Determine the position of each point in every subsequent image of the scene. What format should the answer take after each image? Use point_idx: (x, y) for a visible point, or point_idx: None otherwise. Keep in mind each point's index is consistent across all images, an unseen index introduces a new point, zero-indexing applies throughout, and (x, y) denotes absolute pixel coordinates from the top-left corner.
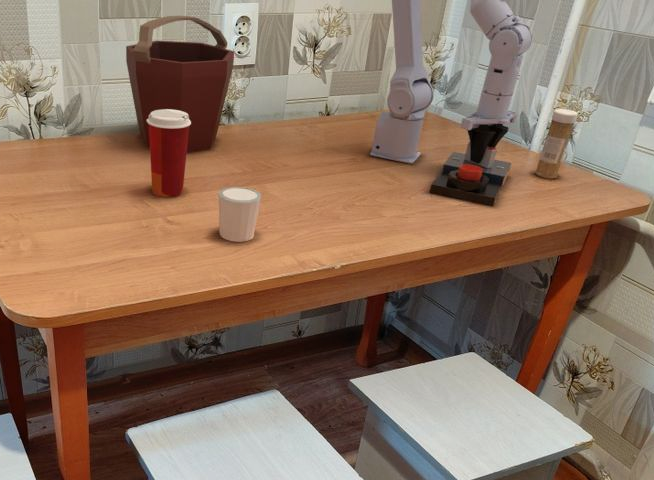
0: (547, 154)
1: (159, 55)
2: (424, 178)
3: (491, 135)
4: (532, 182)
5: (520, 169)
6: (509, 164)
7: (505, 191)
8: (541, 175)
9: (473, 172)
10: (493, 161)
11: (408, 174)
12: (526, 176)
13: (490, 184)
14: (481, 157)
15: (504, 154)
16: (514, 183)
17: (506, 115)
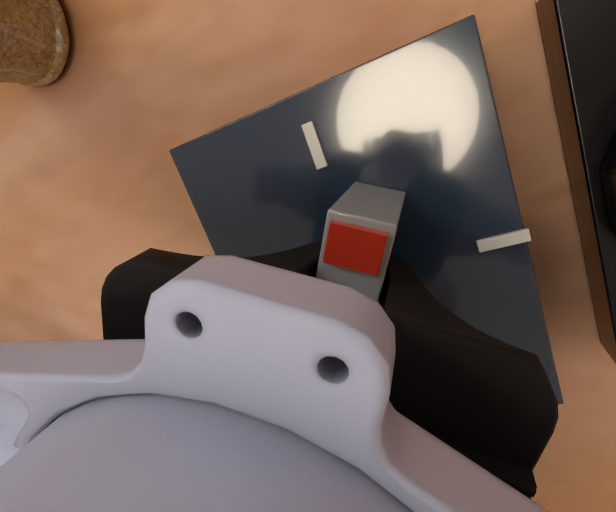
0: None
1: None
2: (606, 403)
3: (434, 325)
4: (164, 9)
5: (74, 157)
6: (205, 141)
7: (441, 10)
8: (62, 24)
9: None
10: (354, 190)
11: (608, 471)
12: (121, 85)
13: (607, 49)
14: (407, 267)
15: (7, 285)
16: (264, 61)
17: (85, 442)
